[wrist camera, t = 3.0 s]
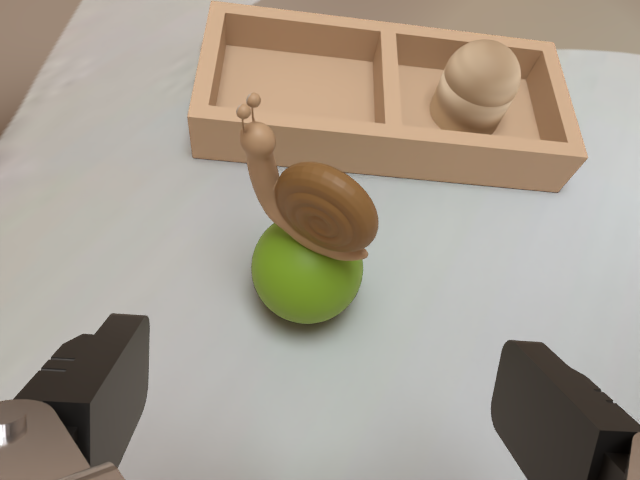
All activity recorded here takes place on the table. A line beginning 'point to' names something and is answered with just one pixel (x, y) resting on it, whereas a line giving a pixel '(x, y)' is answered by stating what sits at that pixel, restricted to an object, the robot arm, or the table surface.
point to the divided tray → (374, 100)
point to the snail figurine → (305, 230)
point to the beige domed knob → (476, 87)
